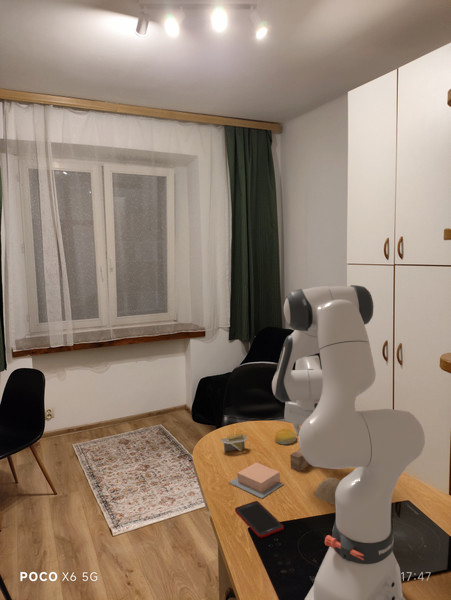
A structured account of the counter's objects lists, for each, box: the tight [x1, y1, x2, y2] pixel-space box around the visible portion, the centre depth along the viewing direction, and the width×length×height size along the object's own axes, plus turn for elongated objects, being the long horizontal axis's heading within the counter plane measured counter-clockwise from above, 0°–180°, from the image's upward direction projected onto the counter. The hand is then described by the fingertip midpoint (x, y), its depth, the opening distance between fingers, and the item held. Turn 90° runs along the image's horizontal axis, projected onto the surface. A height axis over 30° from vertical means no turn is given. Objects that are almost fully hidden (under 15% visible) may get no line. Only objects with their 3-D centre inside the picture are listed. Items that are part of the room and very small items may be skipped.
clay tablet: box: [313, 477, 341, 506], centre depth 129 cm, size 14×10×3 cm
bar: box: [289, 448, 310, 472], centre depth 149 cm, size 16×4×5 cm, turn 134°
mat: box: [228, 476, 284, 500], centre depth 136 cm, size 10×14×1 cm
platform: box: [220, 432, 248, 452], centre depth 160 cm, size 12×18×7 cm, turn 105°
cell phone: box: [234, 500, 284, 539], centre depth 118 cm, size 8×15×1 cm, turn 26°
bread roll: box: [274, 428, 297, 445], centre depth 167 cm, size 8×9×4 cm
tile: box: [237, 462, 281, 493], centre depth 137 cm, size 3×10×9 cm
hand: (311, 439), depth 148 cm, fingers open, 8 cm apart
